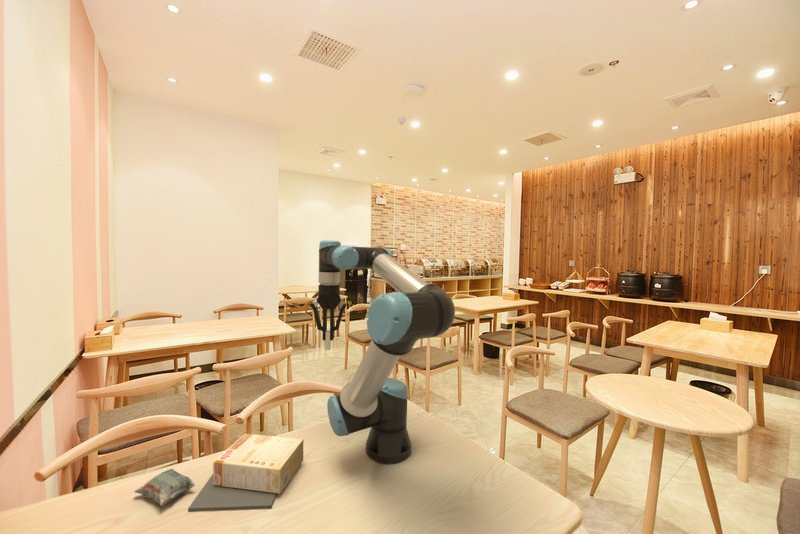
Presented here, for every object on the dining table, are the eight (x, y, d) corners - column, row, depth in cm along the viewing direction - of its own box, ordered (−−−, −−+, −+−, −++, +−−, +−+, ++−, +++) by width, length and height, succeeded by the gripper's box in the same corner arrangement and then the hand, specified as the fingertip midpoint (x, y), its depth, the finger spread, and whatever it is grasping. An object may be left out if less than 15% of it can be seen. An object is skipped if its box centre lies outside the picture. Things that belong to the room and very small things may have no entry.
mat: (289, 461, 103) (289, 459, 103) (271, 508, 84) (271, 505, 84) (222, 463, 102) (222, 460, 102) (188, 511, 83) (188, 508, 83)
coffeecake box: (303, 460, 103) (244, 453, 105) (304, 438, 102) (245, 431, 105) (279, 495, 88) (212, 486, 91) (280, 469, 88) (212, 460, 90)
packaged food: (160, 515, 82) (161, 495, 81) (133, 498, 87) (133, 479, 86) (195, 493, 89) (196, 475, 89) (169, 479, 94) (169, 462, 94)
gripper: (348, 283, 123) (346, 346, 124) (312, 282, 122) (311, 346, 123) (347, 285, 116) (345, 352, 117) (308, 284, 115) (307, 352, 116)
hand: (327, 349), depth 120 cm, fingers closed
